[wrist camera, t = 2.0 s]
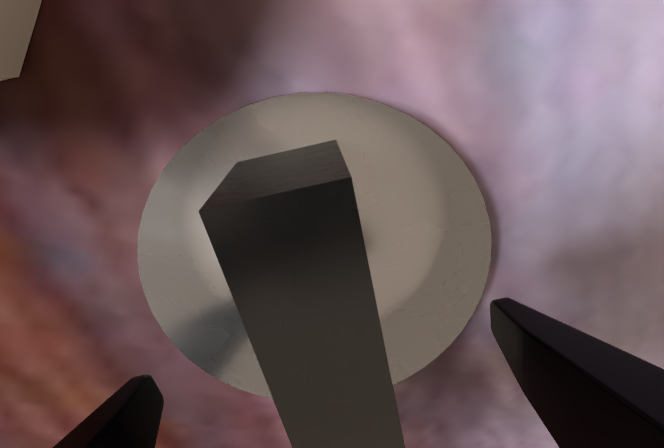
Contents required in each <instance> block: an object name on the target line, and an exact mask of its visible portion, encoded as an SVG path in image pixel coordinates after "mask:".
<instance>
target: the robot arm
mask: <svg viewBox="0 0 664 448" xmlns="http://www.w3.org/2000/svg"><path fill="white" fill-rule="evenodd" d="M490 316H491V329H492V332H493V335H494V337H495V339H496V341H497V343H498V345H499V347H500V349H501V351H502V352H503V354H504V356H505V358H506V360H507V362H508V364H509V366H510V368H511V370H512V372H513V374H514V376H515V378H516V380H517V382H518V383H519V385H520V387H521V389H522V391H523V392H524V394H525V396H526V397H527V399H528V400H529V402H530V403H531V405H532V406H533V408H534V409H535V411H536V413H537V414H538V416H539V417H540V419H541V420H542V422H543V423H544V425H545V426H546V428H547V429H548V431H549V432H550V434H551V435H552V437H553V438H554V440H555V442H556V443H557V445H558V446H559V448H664V369H662V368H660V367H658V366H656V365H653V364H651V363H649V362H647V361H645V360H643V359H640V358H638V357H636V356H634V355H632V354H629V353H627V352H625V351H623V350H621V349H619V348H616V347H614V346H612V345H610V344H608V343H606V342H603V341H601V340H599V339H597V338H595V337H593V336H590V335H588V334H586V333H584V332H582V331H580V330H577V329H575V328H573V327H571V326H569V325H566V324H564V323H562V322H560V321H558V320H556V319H553V318H551V317H549V316H547V315H545V314H543V313H540V312H538V311H536V310H534V309H532V308H530V307H527V306H525V305H523V304H521V303H519V302H516V301H514V300H512V299H510V298H501V299H496V300H493V301H492V302H491V304H490ZM163 404H164V400H163V396H162V393H161V392H160V390H159V388H158V386H157V385H156V383H155V381H154V380H153V378H152V376H150V375H147V374H146V375H141V376H136V377H133V378H131V379H130V380H129V381H128V382H127V383H125V384H124V385H123V386H122V387H121V388H120V389H119V390H118V391H116V392H115V393H114V394H113V395H112V396H111V397H110V398H108V399H107V400H106V401H105V402H104V403H103V404H102V405H101V406H99V407H98V408H97V409H96V410H95V411H94V412H93V413H91V414H90V415H89V416H88V417H87V418H86V419H85V420H83V421H82V422H81V423H80V424H79V425H78V426H77V427H76V428H74V429H73V430H72V431H71V432H70V433H69V434H68V435H66V436H65V437H64V438H63V439H62V440H61V441H60V442H59V443H57V444H56V445H55V446H54V447H53V448H155V444H156V439H157V434H158V430H159V425H160V420H161V415H162V410H163Z"/></svg>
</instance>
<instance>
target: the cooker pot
mask: <svg viewBox="0 0 664 448" xmlns="http://www.w3.org/2000/svg"><path fill="white" fill-rule="evenodd" d="M41 2H42V0H0V81H3V80H7V79H11V78H15V77H19V75H20V72H21V69H22V65H23V62H24V59H25V55H26V52H27V49H28V45H29V42H30V39H31V35H32V32H33V29H34V25H35V22H36V19H37V15H38V12H39V9H40V6H41Z"/></svg>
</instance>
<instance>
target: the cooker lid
mask: <svg viewBox="0 0 664 448" xmlns="http://www.w3.org/2000/svg"><path fill="white" fill-rule="evenodd" d="M491 243H492V240H491V230H490V221H489V217H488V213H487V209H486V205H485V202H484V199H483V196H482V194H481V192H480V190H479V187H478V185H477V183H476V180H475V179H474V177H473V176H472V174H471V172H470V171H469V169H468V168H467V166H466V165H465V163H464V161H463V160H462V159H461V158H460V157H459V156H458V154H457V153H456V152H455V151H454V150H453V149H452V148H451V147H450V145H449V144H448V143H447V142H446V141H444V140H443V139H442V138H441V137H440V136H438V135H437V134H436V133H435V132H434V131H432V130H431V129H430V128H429V127H427V126H426V125H424V124H422V123H421V122H419V121H417V120H416V119H414V118H413V117H411V116H409V115H408V114H406V113H403V112H401V111H399V110H396V109H394V108H392V107H389V106H387V105H385V104H382V103H380V102H378V101H374V100H370V99H366V98H363V97H359V96H355V95H350V94H341V93H333V92H299V93H293V94H286V95H280V96H274V97H271V98H268V99H264V100H261V101H258V102H255V103H251V104H249V105H246V106H244V107H242V108H240V109H238V110H236V111H234V112H232V113H230V114H227V115H225V116H223V117H222V118H220V119H218V120H217V121H215V122H214V123H212V124H211V125H209V126H208V127H206V128H205V129H203V130H202V131H200V132H199V133H198V134H196V135H195V136H194V137H193V138H192V139H191V140H190V141H189V142H188V143H186V144H185V145H184V146H183V147H182V148H181V149H180V150H179V151H178V152H177V153H176V155H175V156H174V157H173V158H172V160H171V161H170V162H169V163H168V164H167V166H166V167H165V168H164V169H163V171H162V173H161V174H160V176H159V178H158V180H157V181H156V183H155V185H154V186H153V188H152V190H151V192H150V195H149V197H148V200H147V203H146V205H145V208H144V211H143V214H142V219H141V224H140V228H139V233H138V253H137V256H138V265H139V274H140V279H141V283H142V286H143V290H144V294H145V297H146V299H147V302H148V304H149V306H150V308H151V311H152V313H153V315H154V317H155V318H156V320H157V322H158V323H159V325H160V326H161V328H162V330H163V331H164V333H165V334H166V335H167V336H168V337H169V339H170V340H171V341H172V342H173V344H174V345H175V346H176V347H177V348H178V349H179V350H180V351H181V352H182V353H183V354H184V355H185V356H186V357H187V358H188V359H189V360H191V361H192V362H193V363H195V364H196V365H197V366H199V367H200V368H201V369H203V370H204V371H205V372H207V373H209V374H210V375H212V376H214V377H215V378H217V379H219V380H221V381H222V382H225V383H227V384H229V385H231V386H233V387H236V388H238V389H240V390H243V391H246V392H249V393H252V394H255V395H258V396H263V397H267V398H272V399H273V400H274V403H275V405H276V408H277V410H278V413H279V415H280V418H281V420H282V423H283V425H284V428H285V430H286V433H287V435H288V438H289V440H290V443H291V445H292V448H405V445H404V440H403V435H402V430H401V425H400V420H399V415H398V410H397V405H396V400H395V395H394V390H393V385H394V384H396V383H398V382H400V381H402V380H404V379H406V378H408V377H410V376H411V375H413V374H415V373H416V372H418V371H419V370H421V369H422V368H424V367H425V366H426V365H428V364H429V363H430V362H432V361H433V360H434V359H436V358H437V357H438V356H439V355H440V354H441V353H442V352H443V351H444V350H445V349H446V348H447V347H449V346H450V345H451V343H452V342H453V341H454V340H455V339H456V337H457V336H458V335H459V334H460V333H461V331H462V330H463V329H464V327H465V326H466V324H467V323H468V321H469V320H470V318H471V317H472V315H473V313H474V311H475V309H476V307H477V305H478V303H479V301H480V299H481V296H482V293H483V290H484V287H485V284H486V281H487V278H488V272H489V267H490V262H491Z"/></svg>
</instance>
